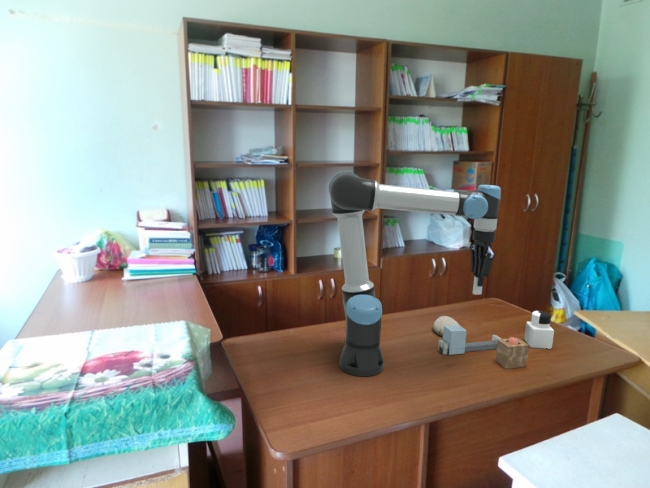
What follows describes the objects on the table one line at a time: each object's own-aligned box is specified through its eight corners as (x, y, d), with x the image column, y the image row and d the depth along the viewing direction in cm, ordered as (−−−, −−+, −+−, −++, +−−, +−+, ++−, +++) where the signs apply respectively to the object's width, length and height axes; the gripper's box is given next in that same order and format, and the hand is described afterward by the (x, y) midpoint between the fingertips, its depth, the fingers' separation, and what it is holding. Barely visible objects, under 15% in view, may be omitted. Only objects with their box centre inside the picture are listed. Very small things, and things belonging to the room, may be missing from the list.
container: (544, 340, 176) (548, 309, 173) (551, 349, 169) (556, 316, 166) (523, 339, 177) (527, 308, 174) (530, 347, 169) (535, 315, 167)
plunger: (510, 362, 154) (512, 341, 152) (504, 358, 157) (507, 337, 155) (517, 361, 155) (520, 340, 153) (511, 357, 158) (514, 336, 156)
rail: (443, 354, 162) (444, 344, 161) (438, 349, 165) (438, 339, 165) (501, 349, 168) (502, 339, 167) (494, 344, 171) (495, 334, 170)
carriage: (449, 354, 161) (451, 331, 159) (441, 348, 167) (443, 325, 165) (464, 353, 163) (466, 330, 161) (456, 346, 168) (458, 324, 166)
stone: (452, 349, 177) (466, 334, 175) (433, 335, 176) (446, 320, 174) (447, 333, 190) (459, 319, 187) (429, 320, 189) (441, 306, 186)
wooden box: (506, 368, 152) (508, 346, 151) (495, 360, 158) (497, 339, 156) (526, 366, 154) (528, 345, 153) (514, 358, 160) (517, 337, 158)
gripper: (505, 233, 151) (496, 299, 156) (483, 226, 163) (476, 288, 168) (485, 233, 149) (477, 300, 154) (465, 226, 161) (458, 288, 166)
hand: (476, 293), depth 161 cm, fingers closed
